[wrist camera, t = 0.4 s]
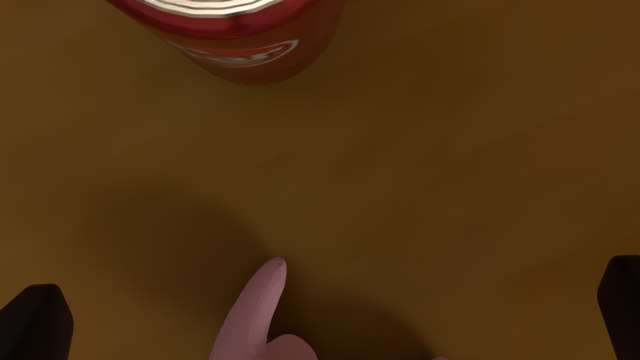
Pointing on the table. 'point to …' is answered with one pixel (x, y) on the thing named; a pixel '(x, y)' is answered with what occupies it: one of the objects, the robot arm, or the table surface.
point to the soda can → (242, 33)
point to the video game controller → (260, 322)
